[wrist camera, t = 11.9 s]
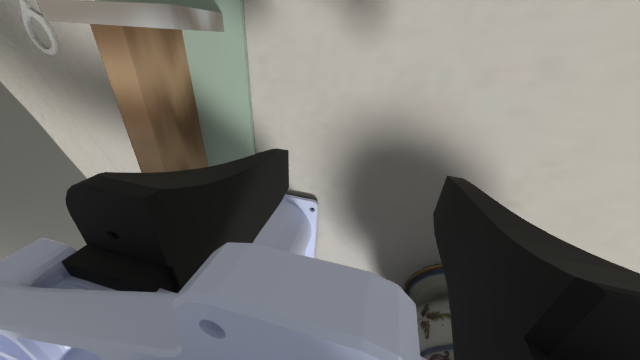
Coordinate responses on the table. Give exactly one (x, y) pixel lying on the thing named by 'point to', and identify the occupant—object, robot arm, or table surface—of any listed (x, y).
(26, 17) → the scissors
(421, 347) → the apothecary jar
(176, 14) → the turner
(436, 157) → the table surface
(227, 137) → the tool mat
